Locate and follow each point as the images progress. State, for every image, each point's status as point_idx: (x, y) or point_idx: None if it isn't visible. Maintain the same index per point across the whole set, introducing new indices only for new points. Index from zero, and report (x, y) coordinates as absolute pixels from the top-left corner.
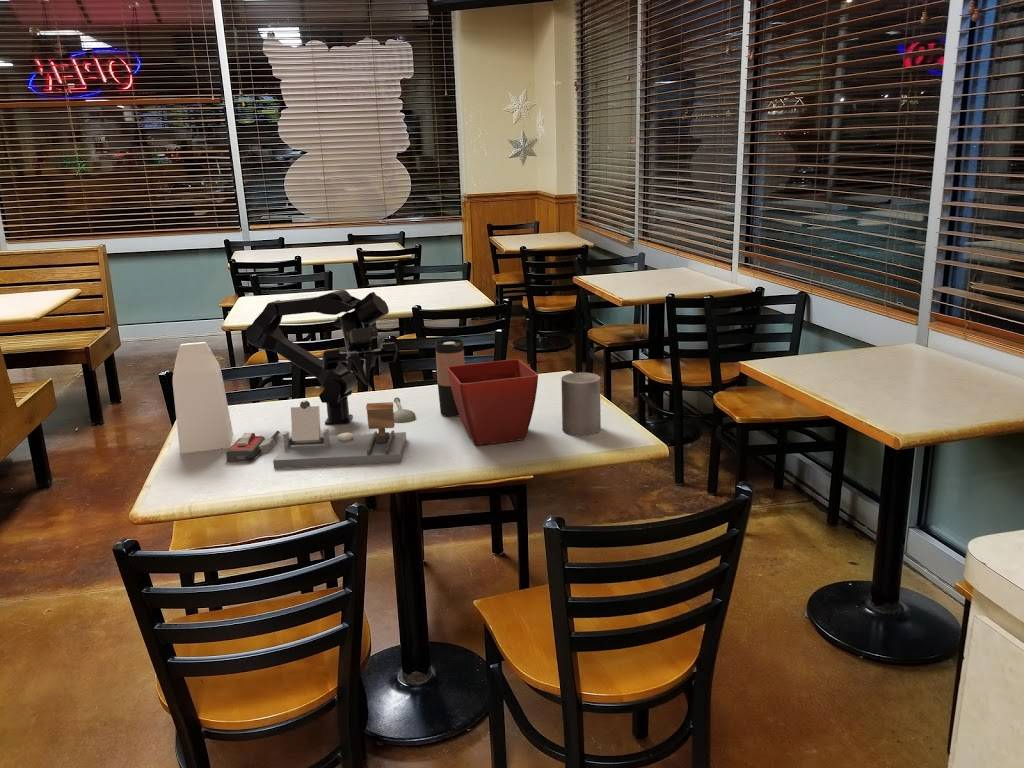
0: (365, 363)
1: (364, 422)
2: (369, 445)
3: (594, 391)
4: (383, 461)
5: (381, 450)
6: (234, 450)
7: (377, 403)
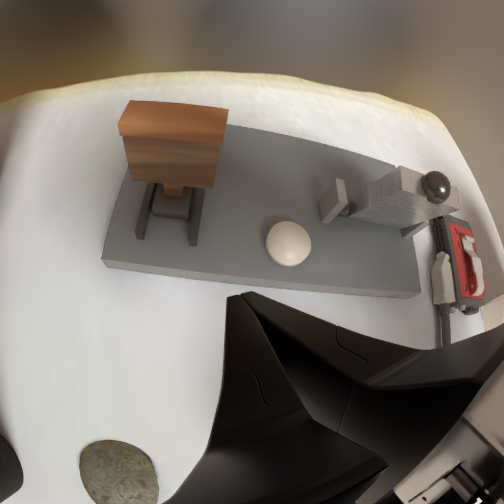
0: (306, 411)
1: None
2: None
3: None
4: None
5: None
6: (463, 223)
7: (181, 121)
